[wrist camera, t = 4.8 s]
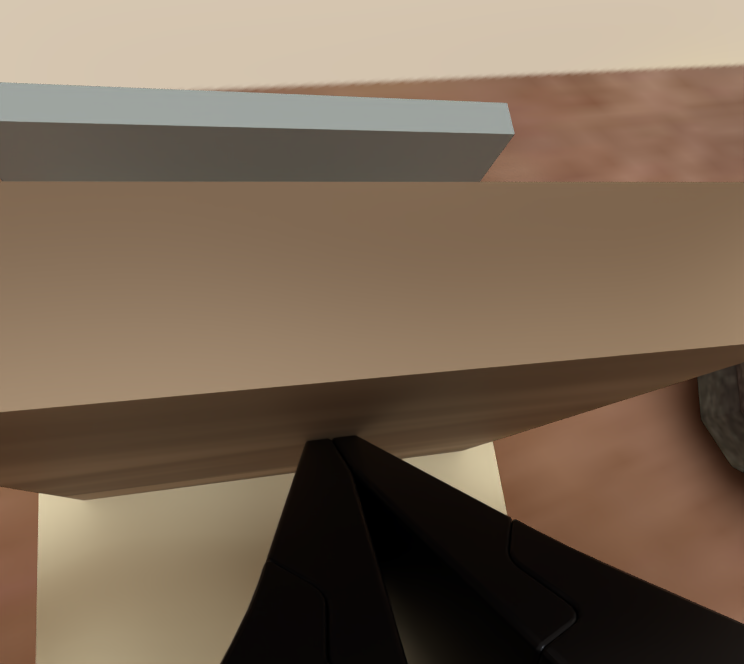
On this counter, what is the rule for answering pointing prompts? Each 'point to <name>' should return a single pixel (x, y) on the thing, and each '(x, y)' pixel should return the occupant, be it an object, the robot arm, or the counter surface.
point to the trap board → (177, 563)
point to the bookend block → (341, 318)
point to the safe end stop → (242, 136)
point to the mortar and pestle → (725, 410)
